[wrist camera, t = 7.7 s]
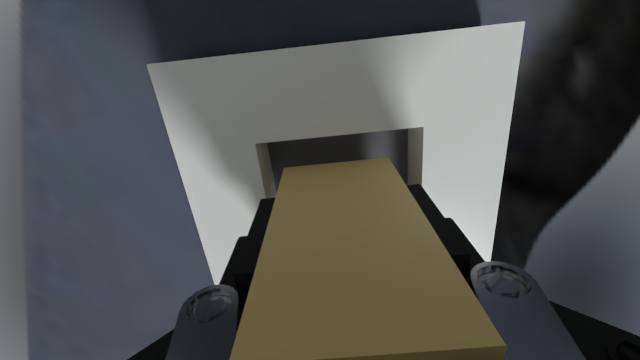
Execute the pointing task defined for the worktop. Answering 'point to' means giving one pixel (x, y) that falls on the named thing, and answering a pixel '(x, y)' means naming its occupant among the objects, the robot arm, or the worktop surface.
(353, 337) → the plug block
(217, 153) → the socket housing
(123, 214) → the worktop surface
